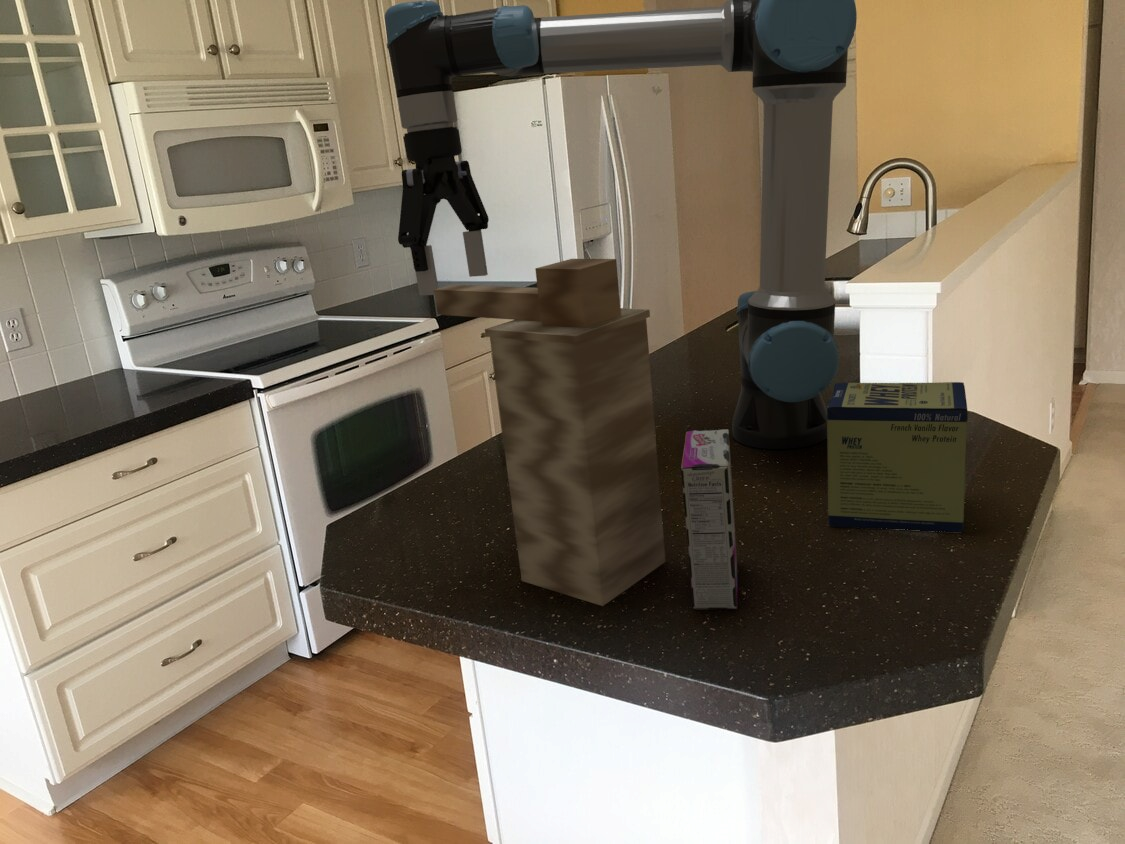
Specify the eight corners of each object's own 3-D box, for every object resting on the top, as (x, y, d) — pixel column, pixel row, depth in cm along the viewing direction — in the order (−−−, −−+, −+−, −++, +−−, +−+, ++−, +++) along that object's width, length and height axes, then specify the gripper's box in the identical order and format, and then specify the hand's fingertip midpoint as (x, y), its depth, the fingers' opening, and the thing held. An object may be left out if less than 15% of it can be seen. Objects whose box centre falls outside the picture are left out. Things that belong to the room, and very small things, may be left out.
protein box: (965, 535, 108) (969, 407, 103) (826, 528, 113) (824, 406, 109) (962, 499, 117) (965, 380, 112) (834, 495, 123) (832, 381, 118)
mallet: (428, 317, 110) (420, 266, 108) (464, 306, 114) (457, 257, 112) (585, 328, 94) (579, 269, 93) (621, 315, 99) (616, 258, 97)
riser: (518, 581, 108) (484, 329, 99) (585, 539, 117) (560, 305, 108) (603, 608, 100) (575, 336, 91) (669, 561, 109) (649, 309, 100)
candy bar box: (694, 563, 108) (684, 429, 103) (737, 562, 107) (730, 427, 102) (689, 611, 98) (679, 465, 93) (738, 611, 97) (730, 463, 92)
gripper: (453, 126, 137) (475, 270, 144) (351, 137, 116) (382, 304, 122) (498, 120, 134) (518, 267, 141) (401, 129, 113) (430, 302, 119)
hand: (455, 285), depth 132 cm, fingers open, 13 cm apart
